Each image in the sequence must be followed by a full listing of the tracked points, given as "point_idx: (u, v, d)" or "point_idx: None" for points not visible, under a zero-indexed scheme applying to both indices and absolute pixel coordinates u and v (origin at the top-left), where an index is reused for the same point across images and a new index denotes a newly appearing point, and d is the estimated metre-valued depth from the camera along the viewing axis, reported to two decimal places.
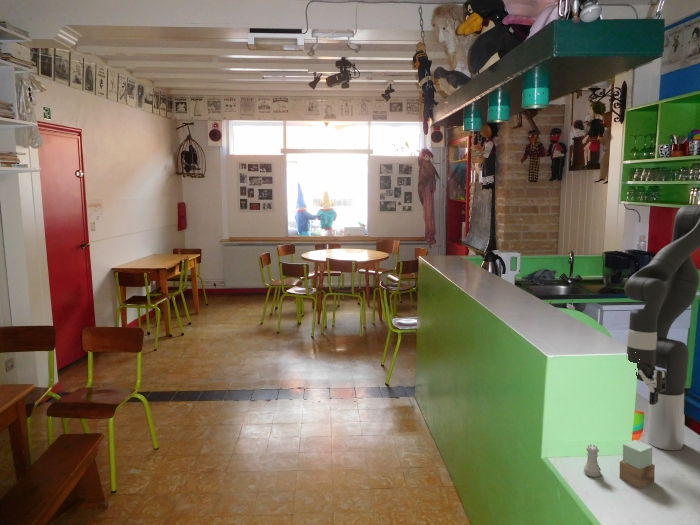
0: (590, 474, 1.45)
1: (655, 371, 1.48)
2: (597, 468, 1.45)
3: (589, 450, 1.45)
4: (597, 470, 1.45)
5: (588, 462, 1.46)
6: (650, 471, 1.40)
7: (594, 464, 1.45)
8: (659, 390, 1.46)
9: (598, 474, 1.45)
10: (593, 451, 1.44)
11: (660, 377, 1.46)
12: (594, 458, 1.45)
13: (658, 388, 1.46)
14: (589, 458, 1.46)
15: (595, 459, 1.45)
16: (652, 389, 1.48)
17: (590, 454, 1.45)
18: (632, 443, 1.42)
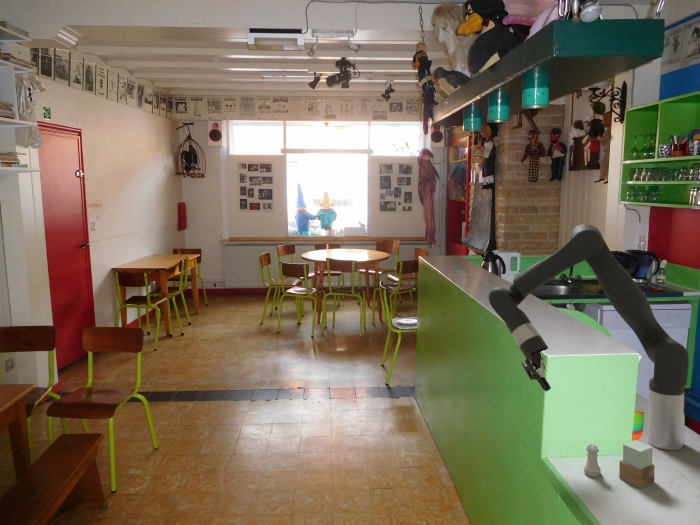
0: (590, 474, 1.45)
1: None
2: (597, 468, 1.45)
3: (589, 450, 1.45)
4: (597, 470, 1.45)
5: (588, 462, 1.46)
6: (650, 471, 1.40)
7: (594, 464, 1.45)
8: None
9: (598, 474, 1.45)
10: (593, 451, 1.44)
11: (524, 367, 1.57)
12: (594, 458, 1.45)
13: None
14: (589, 458, 1.46)
15: (595, 459, 1.45)
16: None
17: (590, 454, 1.45)
18: (632, 443, 1.42)
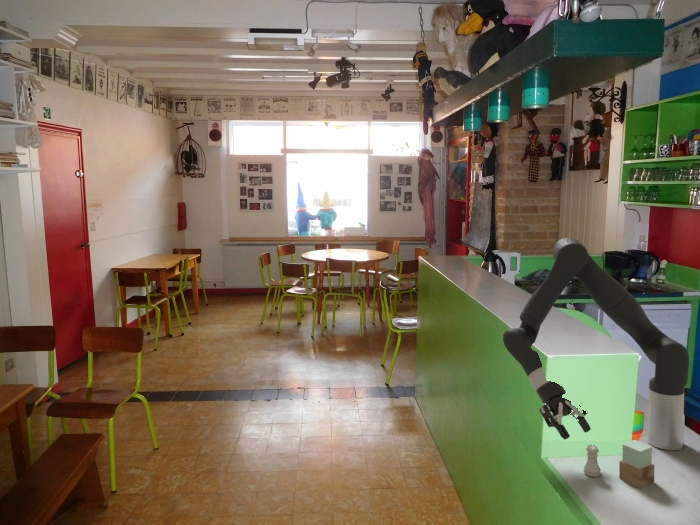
0: (590, 474, 1.45)
1: None
2: (597, 468, 1.45)
3: (589, 450, 1.45)
4: (597, 470, 1.45)
5: (588, 462, 1.46)
6: (650, 471, 1.40)
7: (594, 464, 1.45)
8: None
9: (598, 474, 1.45)
10: (593, 451, 1.44)
11: (542, 413, 1.52)
12: (594, 458, 1.45)
13: None
14: (589, 458, 1.46)
15: (595, 459, 1.45)
16: None
17: (590, 454, 1.45)
18: (632, 443, 1.42)
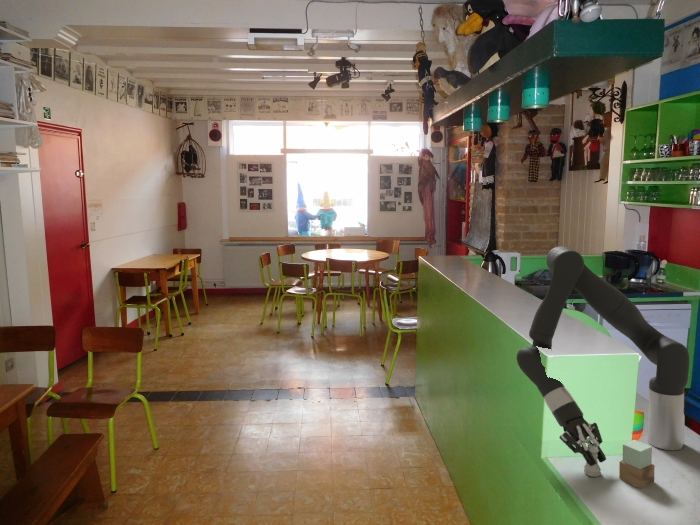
0: (590, 474, 1.45)
1: None
2: (597, 468, 1.45)
3: (589, 450, 1.45)
4: (597, 470, 1.45)
5: None
6: (650, 471, 1.40)
7: None
8: None
9: (598, 474, 1.45)
10: (593, 451, 1.44)
11: (564, 441, 1.47)
12: (594, 458, 1.45)
13: None
14: None
15: (595, 459, 1.45)
16: None
17: None
18: (632, 443, 1.42)
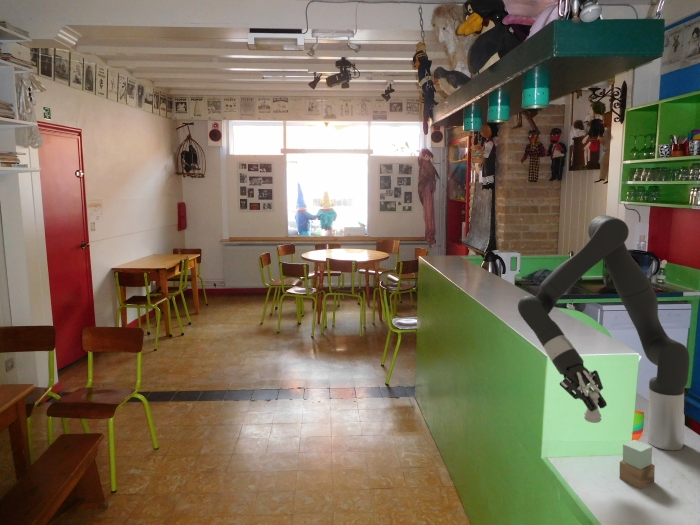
0: (590, 420, 1.43)
1: None
2: (598, 414, 1.43)
3: (590, 395, 1.43)
4: (597, 416, 1.43)
5: None
6: (650, 472, 1.40)
7: (595, 410, 1.43)
8: None
9: (598, 420, 1.43)
10: (594, 396, 1.43)
11: (564, 388, 1.45)
12: (595, 403, 1.43)
13: None
14: None
15: (596, 405, 1.43)
16: None
17: None
18: (632, 443, 1.42)
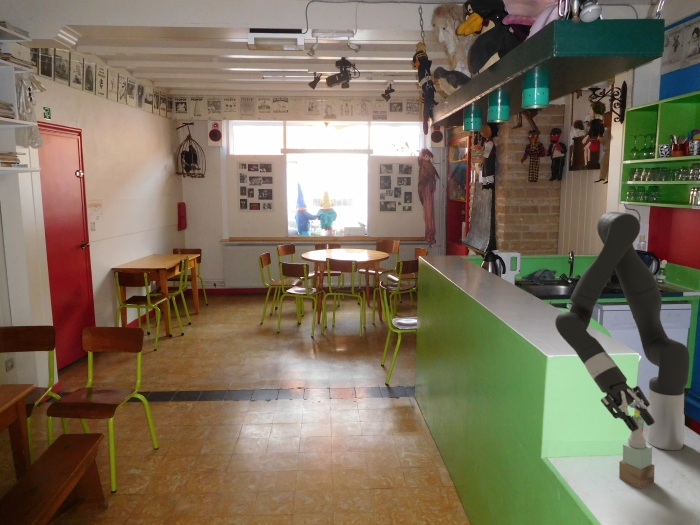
0: (635, 446, 1.40)
1: None
2: (642, 439, 1.39)
3: None
4: (642, 441, 1.39)
5: (633, 433, 1.40)
6: (650, 472, 1.40)
7: (639, 436, 1.39)
8: None
9: (643, 445, 1.39)
10: (638, 421, 1.39)
11: (604, 405, 1.41)
12: (639, 429, 1.39)
13: None
14: None
15: (640, 430, 1.40)
16: None
17: None
18: None
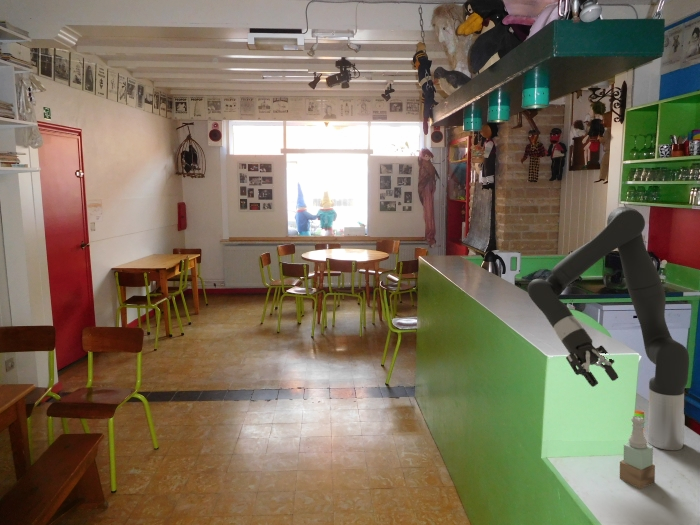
0: (636, 446, 1.39)
1: None
2: (643, 440, 1.39)
3: (635, 421, 1.39)
4: (643, 442, 1.39)
5: (633, 434, 1.40)
6: (651, 472, 1.40)
7: (640, 436, 1.39)
8: None
9: (644, 446, 1.39)
10: (639, 422, 1.39)
11: (569, 362, 1.51)
12: (640, 429, 1.39)
13: None
14: (635, 429, 1.40)
15: (641, 430, 1.39)
16: None
17: (636, 425, 1.40)
18: None
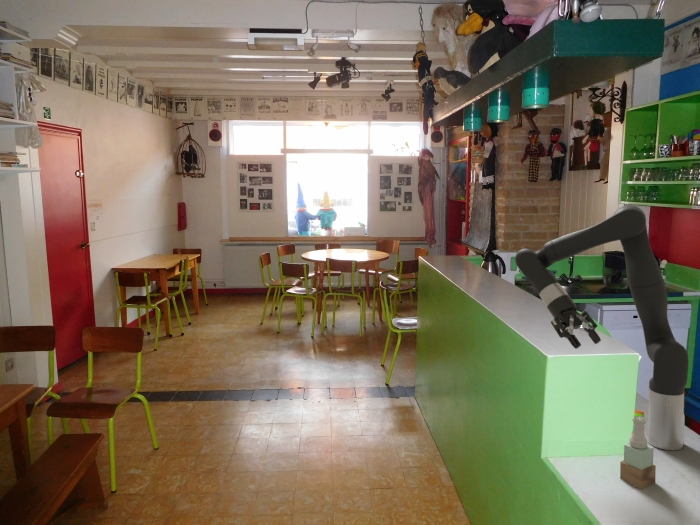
0: (636, 446, 1.39)
1: None
2: (644, 440, 1.39)
3: (636, 421, 1.39)
4: (643, 442, 1.39)
5: (634, 433, 1.40)
6: (651, 472, 1.39)
7: (641, 436, 1.39)
8: None
9: (645, 446, 1.39)
10: (640, 422, 1.39)
11: (553, 325, 1.57)
12: (641, 429, 1.39)
13: None
14: (635, 429, 1.40)
15: (642, 430, 1.39)
16: None
17: (637, 425, 1.39)
18: None
